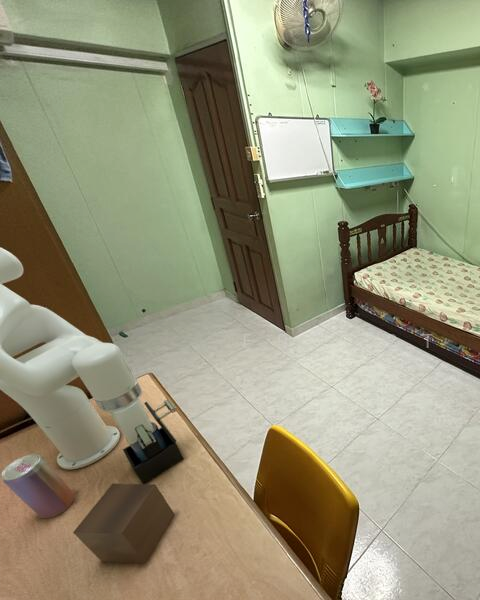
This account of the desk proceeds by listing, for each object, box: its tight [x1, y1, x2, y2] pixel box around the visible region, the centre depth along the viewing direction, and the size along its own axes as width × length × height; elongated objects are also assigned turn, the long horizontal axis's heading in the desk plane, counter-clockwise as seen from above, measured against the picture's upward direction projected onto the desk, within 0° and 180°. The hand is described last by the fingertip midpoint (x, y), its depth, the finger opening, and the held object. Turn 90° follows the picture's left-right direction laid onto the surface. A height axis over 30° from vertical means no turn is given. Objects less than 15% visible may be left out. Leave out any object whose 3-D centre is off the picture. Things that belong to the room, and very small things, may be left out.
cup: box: [126, 421, 168, 463], centre depth 78 cm, size 6×6×9 cm
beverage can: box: [0, 453, 75, 519], centre depth 68 cm, size 6×6×15 cm
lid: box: [143, 398, 178, 443], centre depth 80 cm, size 10×8×4 cm
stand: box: [72, 482, 176, 564], centre depth 64 cm, size 9×9×12 cm
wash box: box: [122, 426, 185, 484], centre depth 80 cm, size 9×8×6 cm
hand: (149, 445), depth 78 cm, fingers closed on cup, 6 cm apart
